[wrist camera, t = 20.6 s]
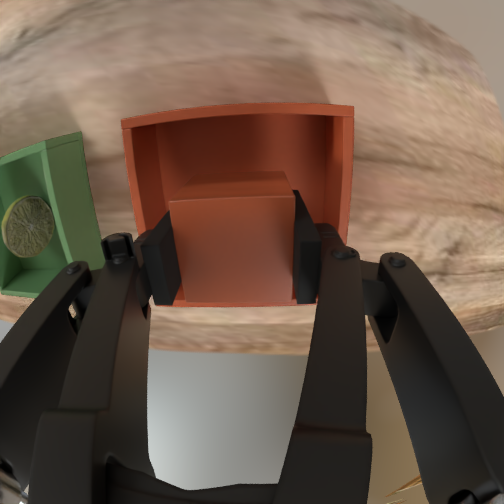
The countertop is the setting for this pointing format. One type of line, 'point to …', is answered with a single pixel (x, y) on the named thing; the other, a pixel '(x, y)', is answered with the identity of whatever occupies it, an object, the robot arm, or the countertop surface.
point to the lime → (27, 226)
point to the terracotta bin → (242, 159)
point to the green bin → (63, 209)
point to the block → (235, 237)
